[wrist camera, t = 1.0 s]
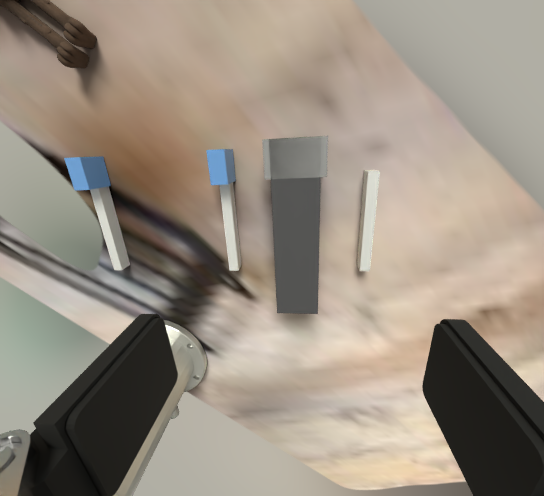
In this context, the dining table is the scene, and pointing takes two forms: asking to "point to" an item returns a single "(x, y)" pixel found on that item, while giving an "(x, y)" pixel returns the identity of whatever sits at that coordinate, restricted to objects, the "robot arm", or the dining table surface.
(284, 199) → the dark grey rectangular block
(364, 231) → the white blue-tipped sticks
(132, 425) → the robot arm
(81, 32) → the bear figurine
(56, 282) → the dining table surface
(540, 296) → the dining table surface
